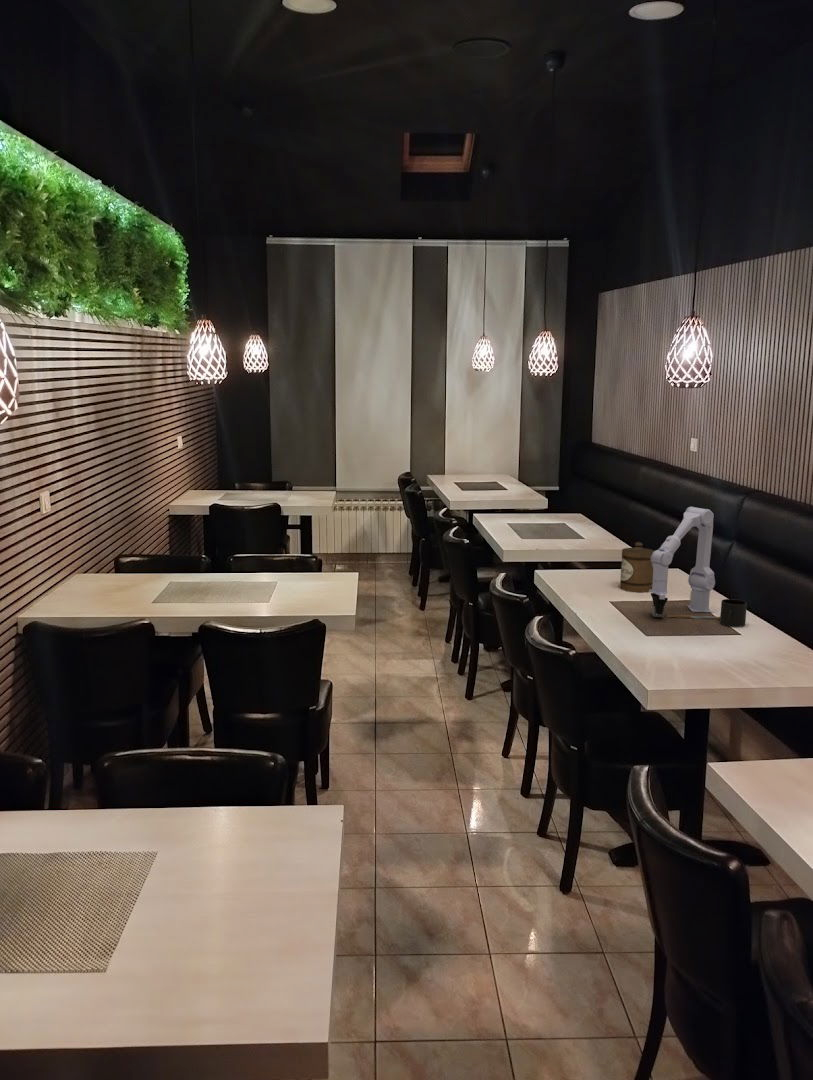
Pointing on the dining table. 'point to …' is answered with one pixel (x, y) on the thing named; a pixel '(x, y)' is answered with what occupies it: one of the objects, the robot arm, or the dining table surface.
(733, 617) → the mug
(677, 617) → the wooden stick
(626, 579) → the wooden container
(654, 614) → the die
